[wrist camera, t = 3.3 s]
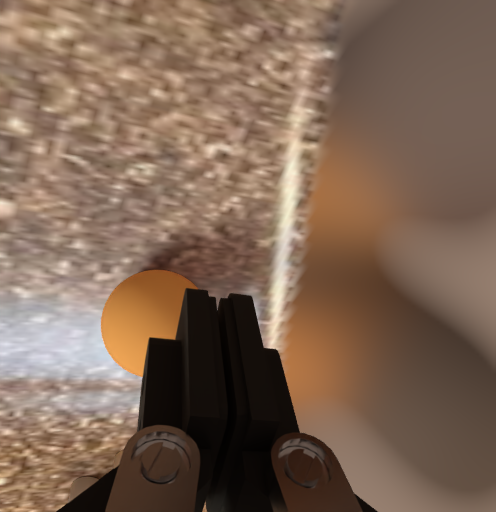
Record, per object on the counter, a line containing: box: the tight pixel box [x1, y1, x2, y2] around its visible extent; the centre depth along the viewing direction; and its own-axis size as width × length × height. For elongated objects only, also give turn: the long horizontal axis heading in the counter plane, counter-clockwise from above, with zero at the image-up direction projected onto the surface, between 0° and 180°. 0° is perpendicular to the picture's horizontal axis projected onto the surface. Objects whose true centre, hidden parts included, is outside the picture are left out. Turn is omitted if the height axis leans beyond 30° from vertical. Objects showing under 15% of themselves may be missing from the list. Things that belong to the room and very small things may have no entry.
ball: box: [101, 270, 198, 377], centre depth 27 cm, size 6×6×6 cm
